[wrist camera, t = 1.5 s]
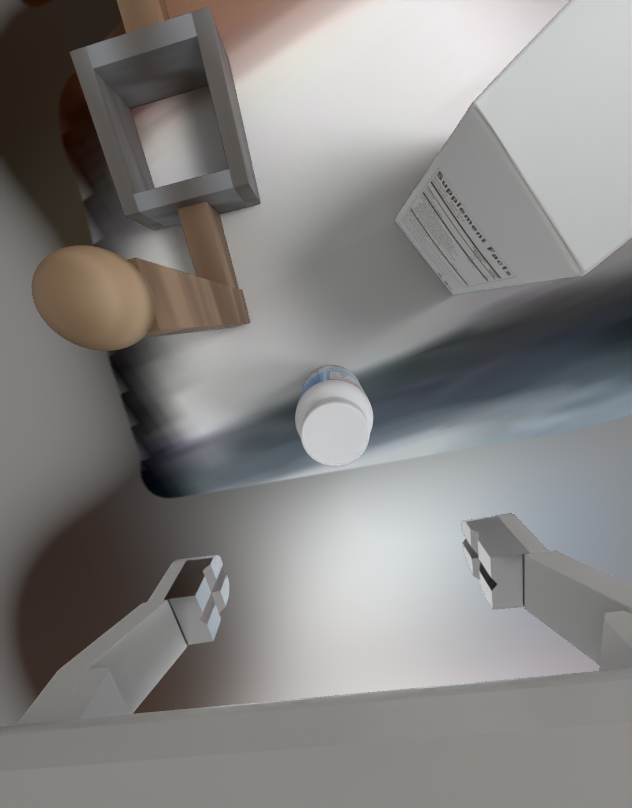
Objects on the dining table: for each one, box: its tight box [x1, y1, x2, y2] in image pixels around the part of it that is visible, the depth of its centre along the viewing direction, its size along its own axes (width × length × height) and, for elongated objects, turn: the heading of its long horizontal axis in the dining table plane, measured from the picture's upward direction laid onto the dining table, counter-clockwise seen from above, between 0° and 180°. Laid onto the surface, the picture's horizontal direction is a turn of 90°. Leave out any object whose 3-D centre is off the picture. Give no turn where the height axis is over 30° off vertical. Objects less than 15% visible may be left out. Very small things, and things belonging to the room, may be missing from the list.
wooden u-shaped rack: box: [32, 0, 260, 351], centre depth 16 cm, size 10×30×19 cm, turn 11°
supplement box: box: [395, 0, 632, 295], centre depth 18 cm, size 9×9×15 cm
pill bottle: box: [295, 365, 373, 466], centre depth 25 cm, size 6×6×11 cm
